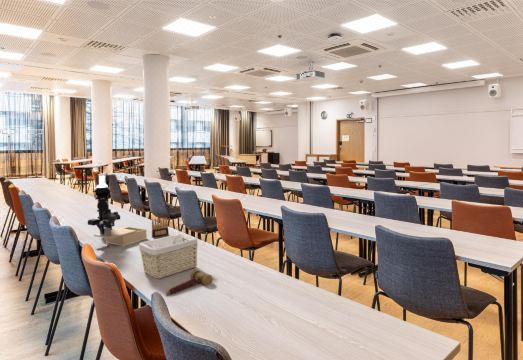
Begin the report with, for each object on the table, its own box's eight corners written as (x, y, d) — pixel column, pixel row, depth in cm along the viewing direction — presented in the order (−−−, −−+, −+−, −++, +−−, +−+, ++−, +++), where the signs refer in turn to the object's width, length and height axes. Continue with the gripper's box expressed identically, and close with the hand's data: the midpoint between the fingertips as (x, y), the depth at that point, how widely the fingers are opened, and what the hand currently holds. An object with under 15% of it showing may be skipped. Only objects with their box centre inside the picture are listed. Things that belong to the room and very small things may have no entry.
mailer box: (106, 242, 233) (105, 233, 232) (129, 235, 248) (128, 226, 248) (123, 245, 225) (123, 236, 224) (146, 238, 240) (146, 229, 240)
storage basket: (155, 281, 168) (153, 249, 167) (139, 272, 180) (137, 242, 178) (200, 267, 185) (199, 238, 183) (182, 260, 196) (181, 232, 195)
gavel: (172, 292, 149) (157, 285, 155) (173, 302, 149) (159, 296, 156) (212, 273, 164) (197, 268, 171) (213, 283, 165) (198, 278, 171)
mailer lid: (94, 235, 225) (93, 227, 225) (118, 229, 241) (118, 221, 240) (112, 238, 217) (111, 230, 217) (136, 231, 233) (135, 223, 232)
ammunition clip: (152, 237, 242) (151, 219, 240) (151, 237, 243) (150, 219, 242) (168, 235, 247) (167, 217, 246) (167, 234, 249) (166, 216, 248)
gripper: (98, 211, 209) (100, 239, 211) (125, 206, 225) (127, 231, 227) (86, 210, 214) (88, 237, 216) (113, 204, 230) (115, 229, 232)
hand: (105, 233), depth 223 cm, fingers closed on mailer lid, 3 cm apart
